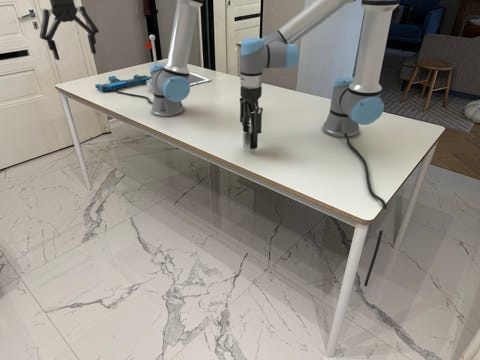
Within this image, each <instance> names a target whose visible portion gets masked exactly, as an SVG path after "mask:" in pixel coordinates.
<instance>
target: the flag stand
mask: <svg viewBox="0 0 480 360" xmlns="http://www.w3.org/2000/svg"><path fill="white" fill-rule="evenodd" d="M155 40H156V36H155V35H154V34H150V35H149V41H148V42H146V43H145V44H143V47H145V48H147V49H151V50H152V56H153V65H154V64H158V59H157V51H156V45H155ZM146 87H147V88H149V92H150V93H151V94H154V93H153V87H152V80H151V79H150V80H147V81H146Z"/></svg>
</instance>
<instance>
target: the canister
mask: <svg viewBox="0 0 480 360" xmlns="http://www.w3.org/2000/svg"><path fill="white" fill-rule="evenodd" d="M251 132H252V131H251V126H250V127H247V128H244V129H243V128H242V149H243V150H245V151H255V150H256V149H257V148H255V149H250V133H251Z"/></svg>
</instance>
